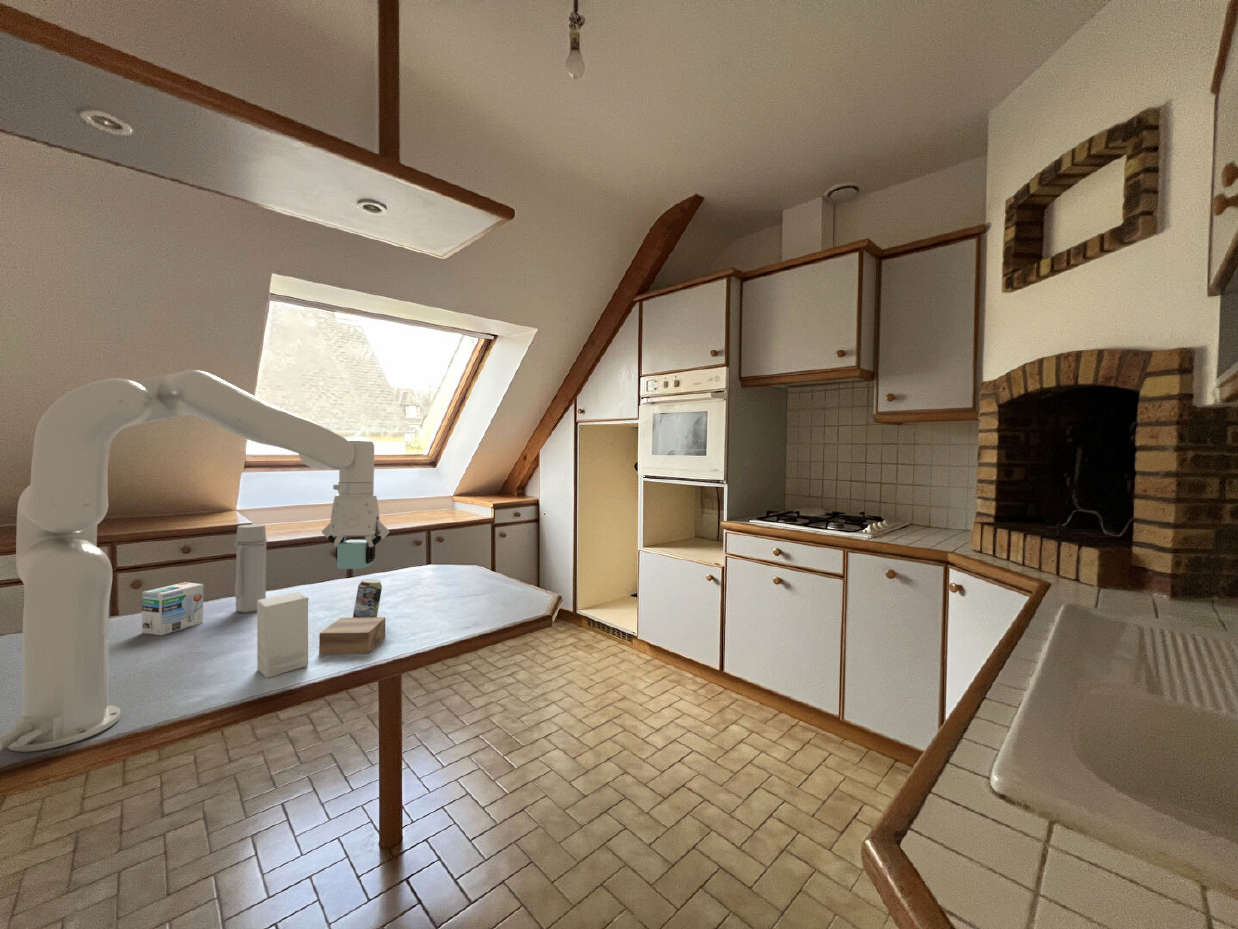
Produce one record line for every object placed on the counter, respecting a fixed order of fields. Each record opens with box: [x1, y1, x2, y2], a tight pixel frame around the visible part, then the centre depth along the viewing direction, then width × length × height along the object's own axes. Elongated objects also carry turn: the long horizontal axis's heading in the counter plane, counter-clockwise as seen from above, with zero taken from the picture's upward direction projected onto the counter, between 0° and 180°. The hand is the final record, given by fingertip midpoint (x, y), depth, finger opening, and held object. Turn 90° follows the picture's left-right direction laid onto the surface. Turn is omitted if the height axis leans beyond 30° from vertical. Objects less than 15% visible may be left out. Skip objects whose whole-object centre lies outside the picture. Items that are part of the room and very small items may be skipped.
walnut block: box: [318, 616, 386, 655], centre depth 121 cm, size 11×11×5 cm
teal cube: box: [336, 539, 374, 570], centre depth 121 cm, size 6×6×6 cm
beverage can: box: [352, 579, 383, 618], centre depth 137 cm, size 6×7×12 cm
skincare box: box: [256, 591, 309, 679], centre depth 107 cm, size 8×7×16 cm
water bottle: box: [233, 523, 268, 614], centre depth 144 cm, size 9×8×25 cm
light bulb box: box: [141, 581, 205, 636], centre depth 129 cm, size 11×7×11 cm, turn 168°
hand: (355, 561), depth 121 cm, fingers closed on teal cube, 6 cm apart
